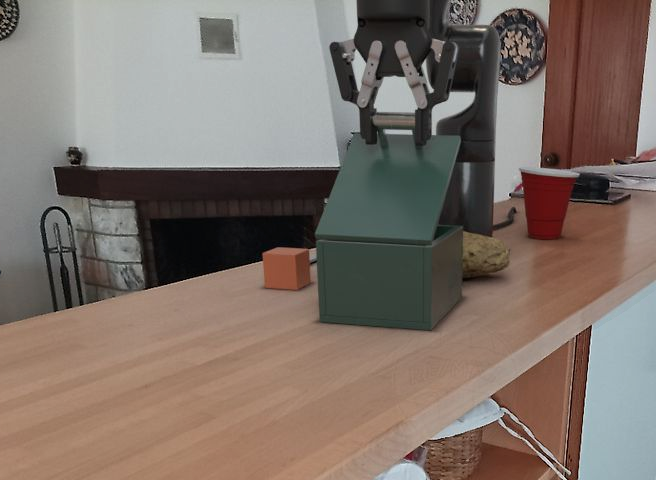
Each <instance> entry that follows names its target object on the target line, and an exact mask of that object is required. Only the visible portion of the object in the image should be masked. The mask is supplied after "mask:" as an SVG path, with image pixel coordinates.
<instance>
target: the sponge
mask: <svg viewBox="0 0 656 480" xmlns="http://www.w3.org/2000/svg"><path fill="white" fill-rule="evenodd" d="M510 254H511V248H510V247H509V246H507V245H506V244H505V243H504V242H503V241H502V240H501V239H498V238H495V237H493V238H491V237H487V236H483V235H479V234H473V233H468V232H465V231H463V267H462V279H467V278H468V279H470V278H477V277H482V276H486V275H489V274H493V273H498V272H500V271H503V270H505V269H507V268H508V267H509V266H510V265H511V262H510V261H511V260H510Z"/></svg>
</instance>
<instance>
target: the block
mask: <svg viewBox="0 0 656 480" xmlns="http://www.w3.org/2000/svg"><path fill="white" fill-rule="evenodd" d="M309 255H310V249H309V248H299V247H298V248H297V247H281V246H280V247H275V248H273V249H269V250H267V251H264V252H262V263H263V264H262V267H263V268H262V269H263V278H264V279H263V280H264V281H263V282H264V288H265V289H274V290H275V289H276V290H288V291H289V290H290V291H299V290H301V289H302V288H304V287H306V286H307V285H309V284H311V283H312V281H311V263H310V257H309Z"/></svg>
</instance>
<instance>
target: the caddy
mask: <svg viewBox="0 0 656 480" xmlns="http://www.w3.org/2000/svg"><path fill="white" fill-rule="evenodd" d="M315 253H316V257H317V260H316V274H317V275H316V277H317V296H318V315H319V322H320V323H329V324H340V325H341V324H342V325H343V324H344V325H355V326H368V327H380V328H381V327H382V328H392V329H393V328H395V329H406V330H420V331H421V330H422V331H432V330H433V329H434V328H435V327H436V326H437V325H438V324H439V322H440V321H441V320H442V319H443V318H444V317H445V316H446V315H447V314H448V313H449V312H450V311H451V310H452V308H454V306H456V304H457V303H458V302H459V301H461V299H462V298H463V278H462V267H463V226H454V225H437V228H436V232H435V235H434V239H433V242H432V245H412V244H394V243H375V242H357V241H338V240H320V239H317V240H316V241H315Z"/></svg>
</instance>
